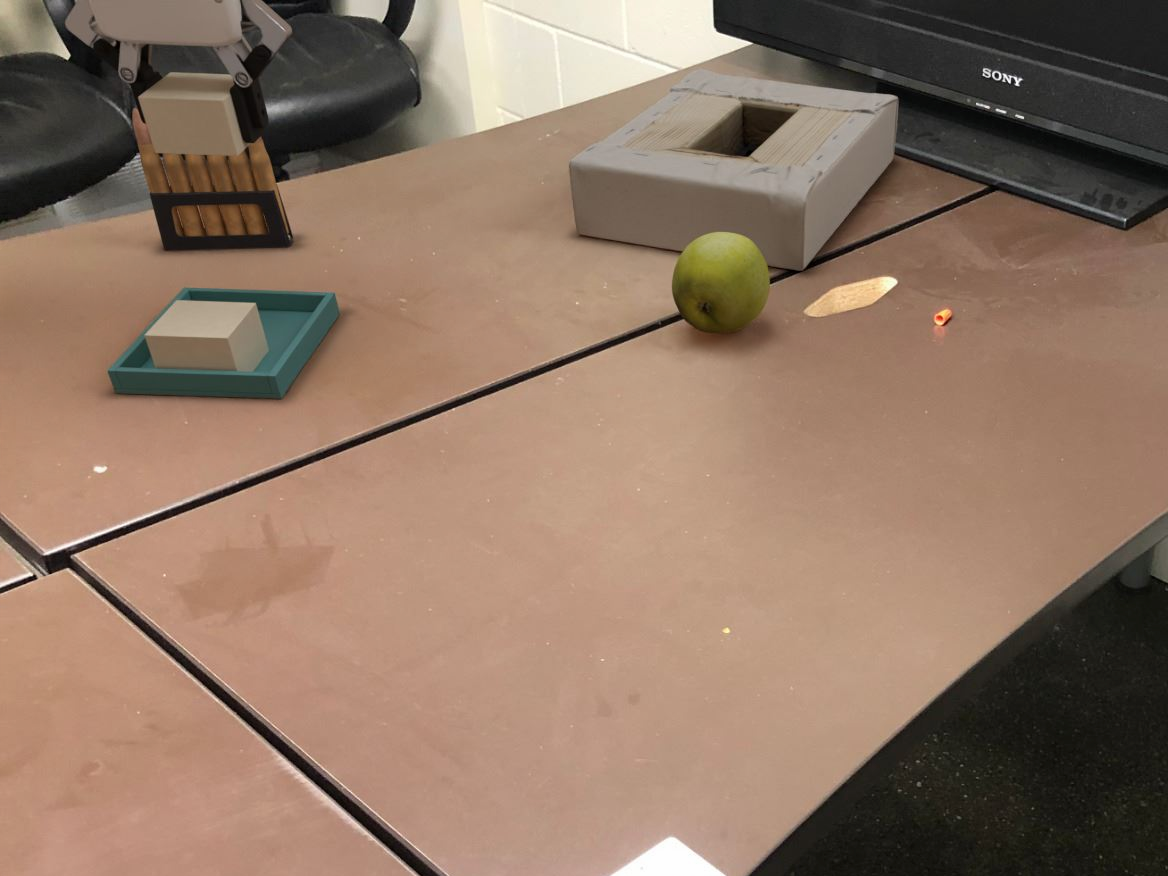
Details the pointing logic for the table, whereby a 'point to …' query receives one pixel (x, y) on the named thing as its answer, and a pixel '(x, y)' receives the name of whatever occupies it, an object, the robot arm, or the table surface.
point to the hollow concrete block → (736, 166)
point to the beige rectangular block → (192, 115)
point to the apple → (720, 282)
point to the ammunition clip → (214, 198)
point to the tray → (291, 341)
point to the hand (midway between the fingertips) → (209, 133)
